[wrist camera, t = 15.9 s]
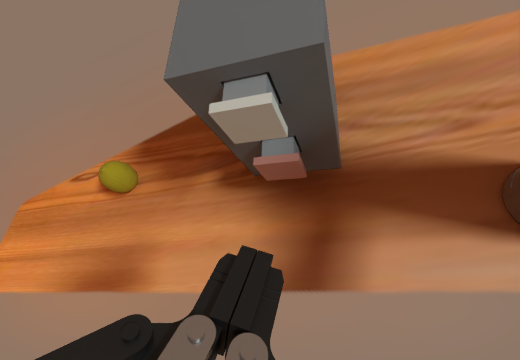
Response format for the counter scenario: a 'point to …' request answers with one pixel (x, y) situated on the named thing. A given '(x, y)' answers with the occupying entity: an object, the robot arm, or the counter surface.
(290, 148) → the lower plunger
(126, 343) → the robot arm
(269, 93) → the upper plunger
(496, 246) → the counter surface
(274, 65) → the grey dispenser box
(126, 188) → the lemon
